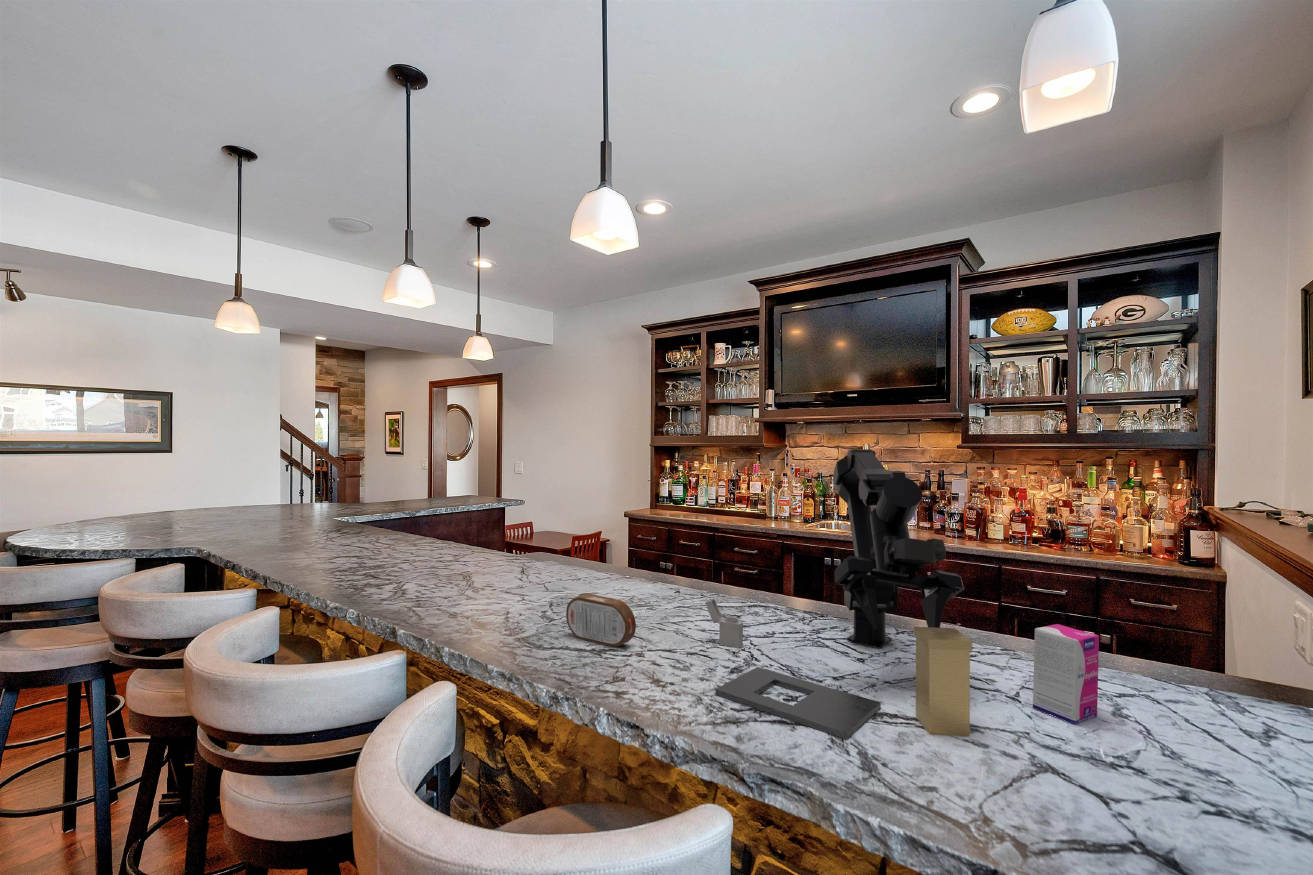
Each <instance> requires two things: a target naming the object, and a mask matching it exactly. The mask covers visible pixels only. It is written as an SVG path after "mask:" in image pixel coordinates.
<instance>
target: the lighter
mask: <svg viewBox="0 0 1313 875" xmlns="http://www.w3.org/2000/svg"><path fill="white" fill-rule="evenodd" d="M704 604H705V606H706V608H707V612H708V614H709V617H710V618H711V621H712V623H713V624H715V623H718V622H719V627H718V628H719V637H718V638H719V639H718V641H719V645H720V646H721V645H722V646H727V647H732V648H737V649H741V648H742V647H744V646H743V645H744V640H743V639H744V622H743V621H739V618H738V617H737V616H736V615H729V614H728V615H725V619H724V618H723V617H722V614H721V611H720V608H719V607H718V604H717V601H716V599H715V598H710V599H708V600H705V602H704Z"/></svg>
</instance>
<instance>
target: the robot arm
mask: <svg viewBox="0 0 1313 875" xmlns="http://www.w3.org/2000/svg"><path fill="white" fill-rule="evenodd" d="M832 476H833V477H832V480H833V485H834V486H836V490H837V495H838V496H839V497H840V499H842V500H843V501H844V502H845V503H846V505H847V511H848V516H849V517H848V518H849V524H850V525H849V526H850V531H851V533H850V534H851V539H852V546H853V553H854V555H848V556H847V557H846V558H845V559H844V560H842V562H841V563H840V564H839V565H838V566H837V567H835V570H834V573H833V574H834V582H835V584H836V585H837V586H843V587H842V588H843V590H844V605H845V606H846V608H847V609H848V611H853V633H852V634H850V635H849V636H847V637H846V641H848V642H852V643H855V644H856V643H857V644H860V645H865V646H869V647H874V648H877V649H882V648H883V647H885V646H886V645H887V644H889V643H890V642H892V640H893V637H891V636H887V635H886V613H887V612H888V613H896V611H897V605H898V598H899V593H900V587H899V586H901V587H902V586H903V587H910V588H914V589H919V594H920V595H921V597H923V598H922V599H921V600H920V604H921V608H922V612H923V615H924V619H925V622H926V627H933V628H941V623H942V618H943V613H944V610H945V607H946V603H947V601H949V600H951V599H952V598H954V597H955V596H957V595H959V594H960V593H962V592H963V591H964V590H965V587H964V584H963V579H962V577H961V576H960V575H959V574H957V573H956V572H955V573H954V572H949V571H942V570H937V569H936V570H934V571H933V572H931V573H930V574H928V575H927V576H922V575H917V572H922V571H923V570H925V565H928V564H931V565H935V564H936V562H940V561H942V562H943V561H944V560H945V559H946V558H947V549H946V545H945V541H944V540H943V539H939V538H933V537H932V538H931V539H929V538H927V540H923V539H919V538H918V539H916V538H911V537H910V532H909V526H908V523H909V522H911V521H912V519H913V518H914V516H915V513H916V511H917V509H918V507H919V504H920V503H921V501H922V498H923V490H922V488H921V487H920V486H919V484H917V482H915V481H914V480H912V479H911V478H908V477H907V476H906V472H905V471H894V470H890V469H886V468H885V467H884V465H883V464H882V463H881V461H880V460H879V459H878V457H877V455H876V451H875V450H872V449H868V448H867V449H864V448H863V449H859V448H858V449H857V448H854V449H851V450H848V452H847V455H845V456H844V457H843V458H841V459H839V460H838V461H836V463H835V466H834V470H833V475H832ZM871 506H874V507H875V508H873V510H872V507H871Z"/></svg>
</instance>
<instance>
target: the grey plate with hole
mask: <svg viewBox="0 0 1313 875" xmlns="http://www.w3.org/2000/svg"><path fill="white" fill-rule="evenodd" d="M774 686H779V687H783V688H786V689H789V690H791V689H792V690H793V691H794V692H798V693H801V692H802V694H806V695H807V696H806V697H804V698H802V699H801V700H800V701H798V702H797V703H795V704H794V705H792V704H790V703H787V702H784V701H780V700H778V699H774V698H771V697H767V696H766V695H765V696H764V695H762V693H763V692H766V691H767V690H768V689H770V688H771V687H774ZM792 690H791V691H792ZM715 696H719V697H722V698H725V699H727V700H731V701H733V702H736V703H739V704H741V705H744V706H747V707H751V708H753V709H757V710H759V711H763V712H764V713H765V712H766V713H768V714H772V715H774V716H777V717H780V718H783V719H786V720H789V721H792V722H795V723H798V724H799V725H800V724H801V725H803V726H805V727H810V728H812V729H815V730H819V731H822V732H825V733H827V734H830V735H833V736H835V737H838V738H842V739H844V740H848V739H849V738H850V737H851V736H852V735H854V733H855V732H856V731H857V730H859V729H860V728H861V727H862V726H864V724H866V722H867V721H868V720H870V719H871V718H872V716H874V715H875V714H876V713H877V712H878V711H880V709H881V708H882V706H881V704H882V703H881V701H878V700H875V699H871V698H868V697H863V696H860V695H857V694H852V693H850V692H846V691H843V690H839V689H836V688H832V687H828V686H825V685H822V684H819V683H815V682H811V681H809V680H808V681H807V680H804V679H802V678H797V677H793V676H791V675H787V674H784V673H780V672H776V671H774V670H773V671H772V670H770V669H767V668H763V667H759V666H756V667H754V668H753V669H751V670H749V671H748V672H745V673H744V674H741V675H740V676H738V677H736V678H734V679H732V680H730V681H728V682H727V683H725V684H723V685H721V686H719V687H717V688H715Z"/></svg>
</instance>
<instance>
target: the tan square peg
mask: <svg viewBox="0 0 1313 875" xmlns="http://www.w3.org/2000/svg"><path fill="white" fill-rule="evenodd" d="M913 636H914V638H915V718H916V719H917V720H918V721H919V723H920V724H921V726H923V728H924V729H925V731H926V732H927V734H928V735H936V736H938V735H939V736H954V737H969V736H970V737H971V709H970V708H971V651H973V640H972V639H970V638H968V637H967V636H966V635H965V634H963V633H962V632H960V631H959V630H958V629H957V628H953V627H940V628H933V627H928V626H925V627H924V626H913Z"/></svg>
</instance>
